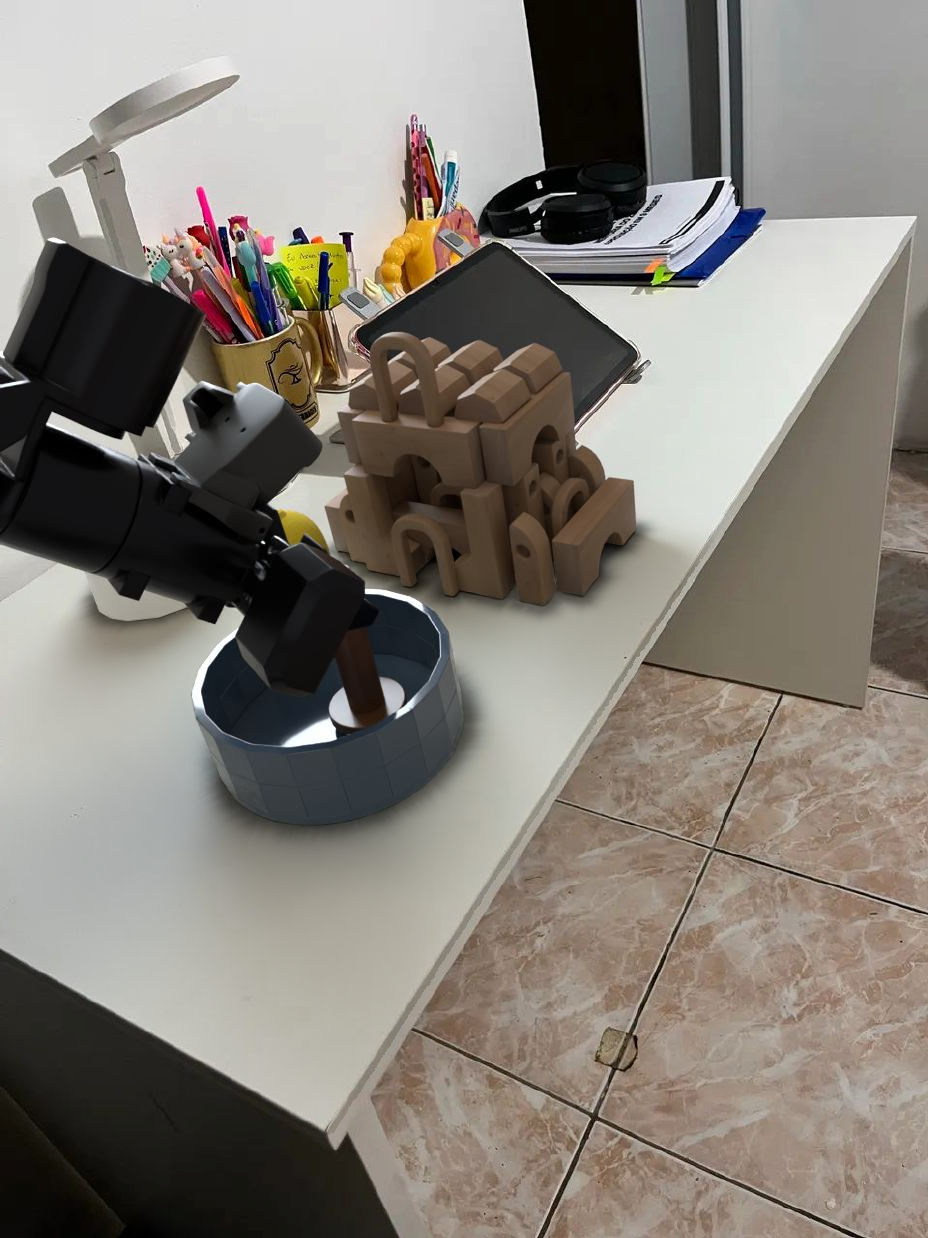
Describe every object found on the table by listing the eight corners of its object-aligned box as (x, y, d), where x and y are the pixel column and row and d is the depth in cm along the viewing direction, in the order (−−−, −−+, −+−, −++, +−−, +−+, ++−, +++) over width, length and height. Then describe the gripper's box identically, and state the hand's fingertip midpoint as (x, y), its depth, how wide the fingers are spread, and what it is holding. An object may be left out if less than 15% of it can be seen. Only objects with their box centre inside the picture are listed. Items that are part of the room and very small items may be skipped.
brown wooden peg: (375, 746, 55) (336, 606, 50) (314, 723, 58) (270, 587, 52) (423, 696, 58) (391, 559, 53) (363, 677, 61) (326, 544, 55)
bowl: (360, 862, 50) (336, 789, 47) (169, 774, 58) (138, 706, 55) (510, 690, 59) (498, 619, 56) (328, 635, 67) (309, 570, 64)
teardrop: (229, 533, 82) (185, 403, 75) (230, 599, 73) (180, 459, 66) (102, 563, 81) (45, 435, 75) (87, 635, 72) (21, 496, 65)
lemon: (275, 588, 74) (246, 497, 69) (345, 579, 73) (320, 487, 69) (263, 629, 69) (231, 535, 65) (337, 620, 69) (310, 525, 64)
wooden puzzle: (647, 516, 74) (636, 273, 63) (564, 621, 64) (534, 356, 54) (415, 482, 85) (372, 270, 74) (315, 567, 75) (249, 338, 65)
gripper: (268, 408, 36) (529, 540, 47) (124, 319, 50) (352, 438, 60) (143, 661, 38) (424, 734, 48) (36, 508, 51) (274, 591, 62)
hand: (364, 607), depth 55 cm, fingers closed on brown wooden peg, 2 cm apart
